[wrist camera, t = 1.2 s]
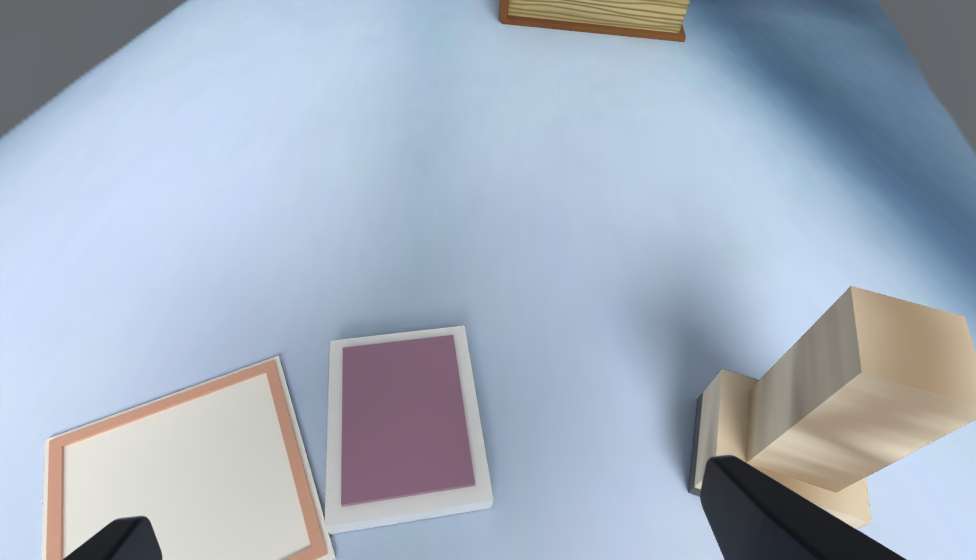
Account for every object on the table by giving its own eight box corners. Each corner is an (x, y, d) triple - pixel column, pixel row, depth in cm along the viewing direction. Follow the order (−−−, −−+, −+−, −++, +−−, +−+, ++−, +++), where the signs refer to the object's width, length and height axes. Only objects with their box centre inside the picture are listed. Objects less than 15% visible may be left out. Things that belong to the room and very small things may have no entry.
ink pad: (492, 507, 23) (493, 497, 22) (330, 534, 22) (323, 525, 21) (464, 337, 28) (464, 322, 27) (334, 352, 27) (328, 337, 26)
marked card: (335, 558, 21) (334, 556, 21) (40, 705, 18) (34, 705, 18) (279, 357, 27) (277, 354, 27) (47, 441, 24) (42, 438, 23)
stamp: (819, 438, 26) (1001, 310, 17) (825, 541, 23) (1050, 450, 14) (697, 398, 27) (811, 260, 18) (688, 492, 24) (819, 379, 15)
